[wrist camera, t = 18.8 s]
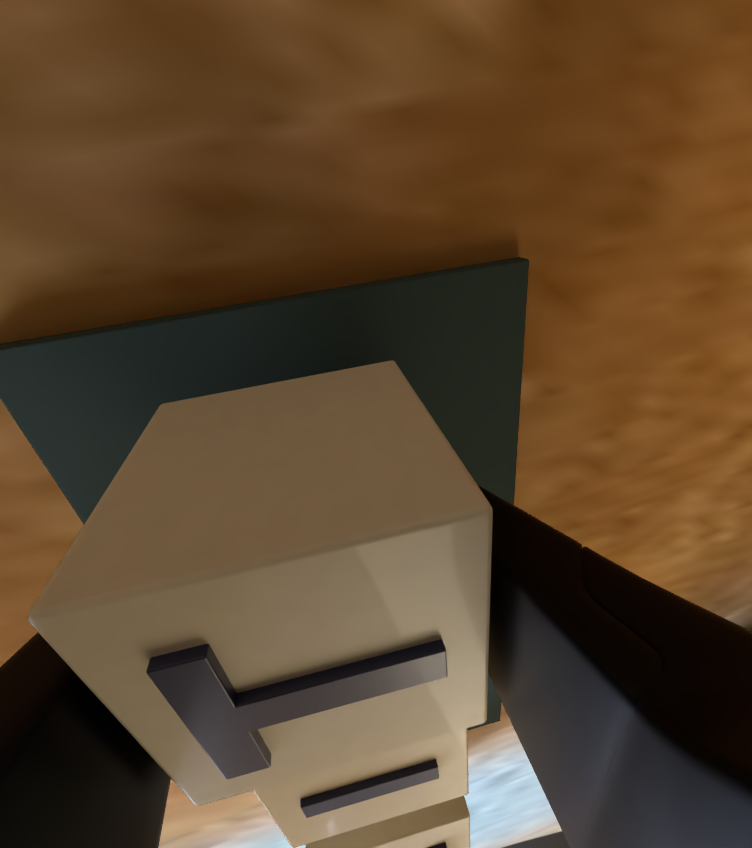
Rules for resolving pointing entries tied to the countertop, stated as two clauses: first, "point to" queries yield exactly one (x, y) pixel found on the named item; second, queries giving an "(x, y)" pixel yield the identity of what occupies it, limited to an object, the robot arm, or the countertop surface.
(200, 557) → the tile
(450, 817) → the tile
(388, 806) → the tile
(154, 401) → the word mat
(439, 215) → the countertop surface
